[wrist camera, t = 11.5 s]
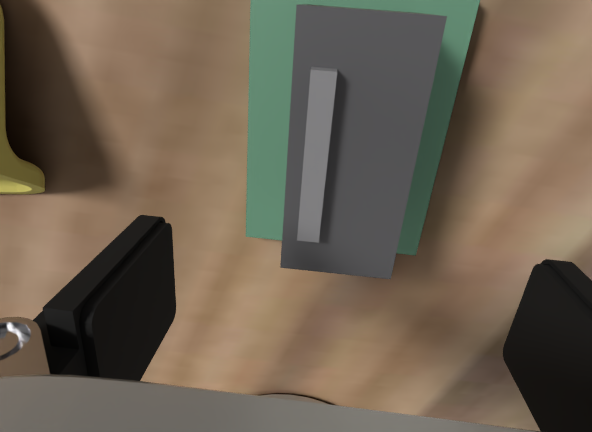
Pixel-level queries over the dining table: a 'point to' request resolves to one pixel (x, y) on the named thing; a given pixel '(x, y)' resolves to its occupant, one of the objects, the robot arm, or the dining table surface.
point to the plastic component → (3, 162)
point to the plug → (354, 134)
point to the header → (277, 97)
